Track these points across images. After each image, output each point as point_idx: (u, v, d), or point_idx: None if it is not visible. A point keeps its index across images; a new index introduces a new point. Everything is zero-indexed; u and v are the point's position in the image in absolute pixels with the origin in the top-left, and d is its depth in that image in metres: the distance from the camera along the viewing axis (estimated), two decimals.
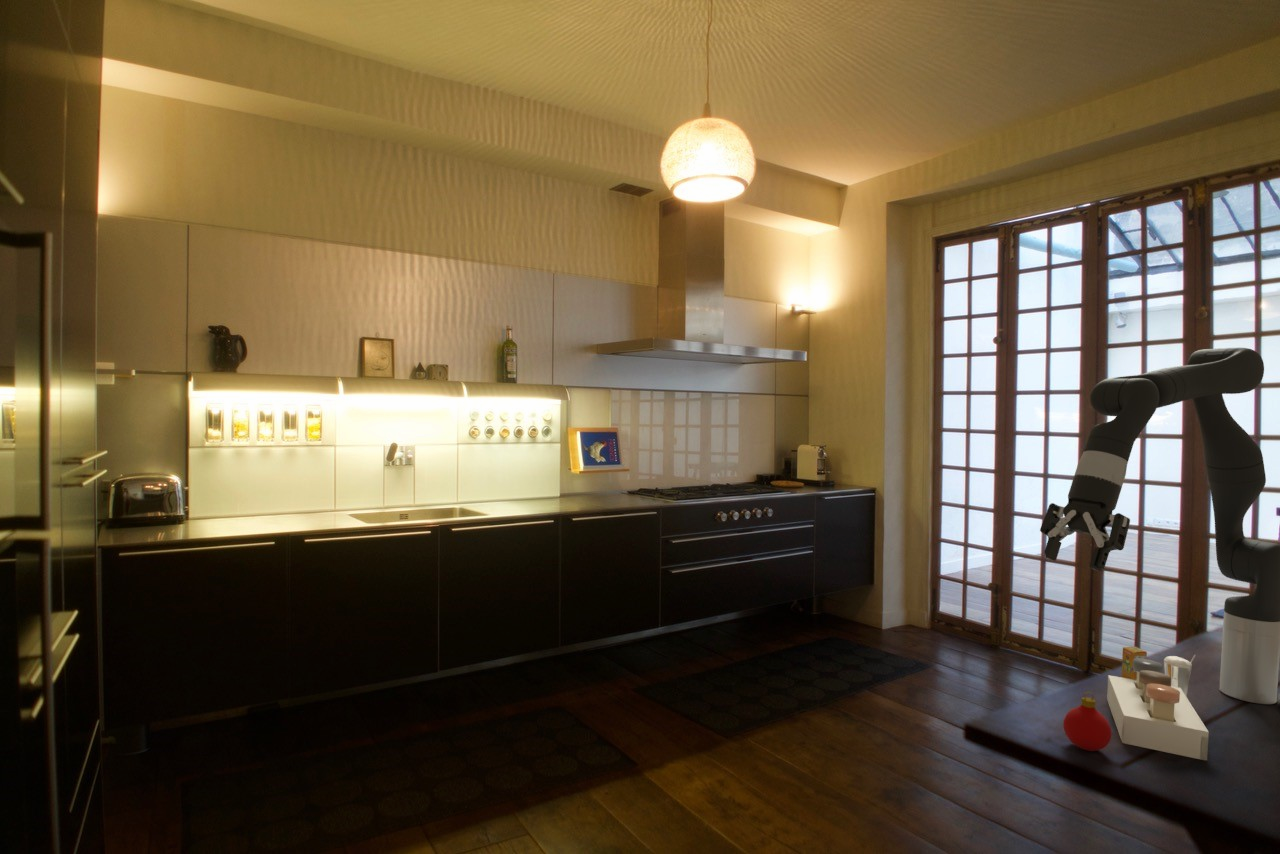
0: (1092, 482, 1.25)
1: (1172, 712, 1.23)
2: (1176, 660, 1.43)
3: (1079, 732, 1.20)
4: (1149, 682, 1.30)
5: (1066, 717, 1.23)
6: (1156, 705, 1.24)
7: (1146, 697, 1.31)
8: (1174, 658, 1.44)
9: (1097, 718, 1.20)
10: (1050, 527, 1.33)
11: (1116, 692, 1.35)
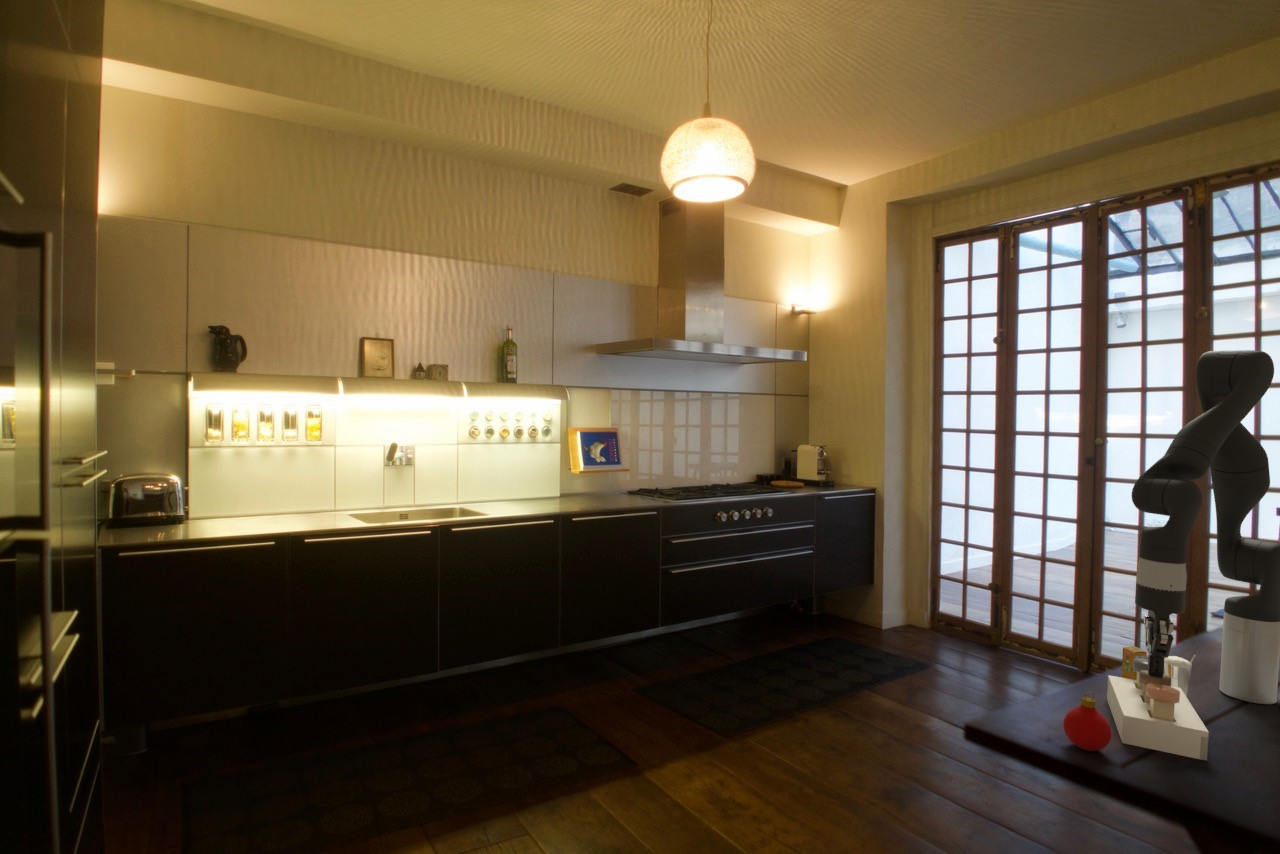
0: (1139, 590, 1.31)
1: (1172, 712, 1.23)
2: (1176, 660, 1.43)
3: (1080, 732, 1.20)
4: (1149, 682, 1.30)
5: (1066, 717, 1.23)
6: (1156, 705, 1.24)
7: (1146, 697, 1.31)
8: (1174, 658, 1.44)
9: (1098, 718, 1.20)
10: None
11: (1116, 692, 1.35)
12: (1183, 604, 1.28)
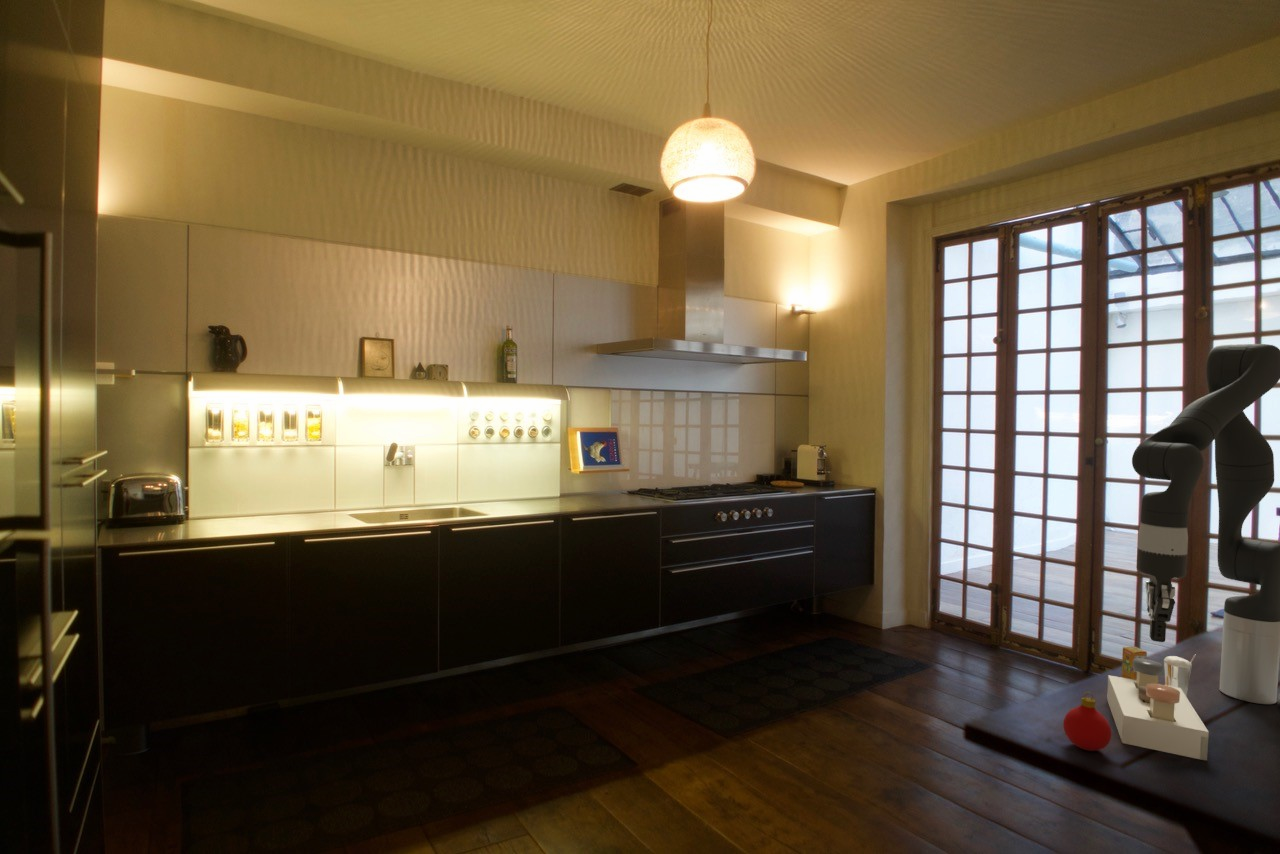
0: (1141, 555, 1.31)
1: (1172, 712, 1.23)
2: (1176, 660, 1.43)
3: (1079, 732, 1.20)
4: (1148, 698, 1.31)
5: (1066, 717, 1.23)
6: (1156, 705, 1.24)
7: None
8: (1174, 658, 1.44)
9: (1097, 718, 1.20)
10: None
11: (1116, 692, 1.35)
12: (1185, 568, 1.28)
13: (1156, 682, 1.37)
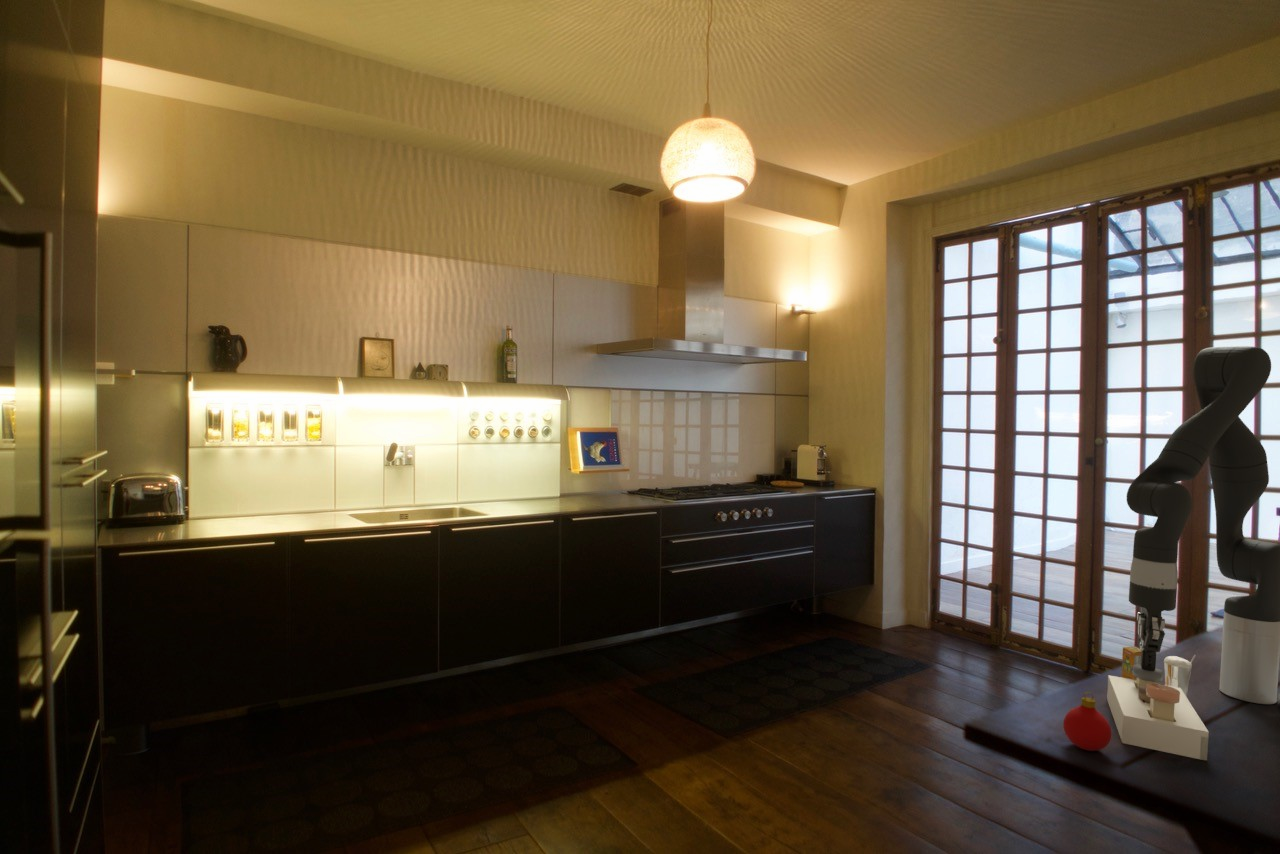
0: (1133, 588, 1.38)
1: (1172, 712, 1.23)
2: (1176, 660, 1.43)
3: (1080, 732, 1.20)
4: (1148, 698, 1.31)
5: (1066, 717, 1.23)
6: (1156, 705, 1.24)
7: None
8: (1174, 658, 1.44)
9: (1097, 719, 1.20)
10: None
11: (1116, 692, 1.35)
12: (1174, 601, 1.35)
13: None
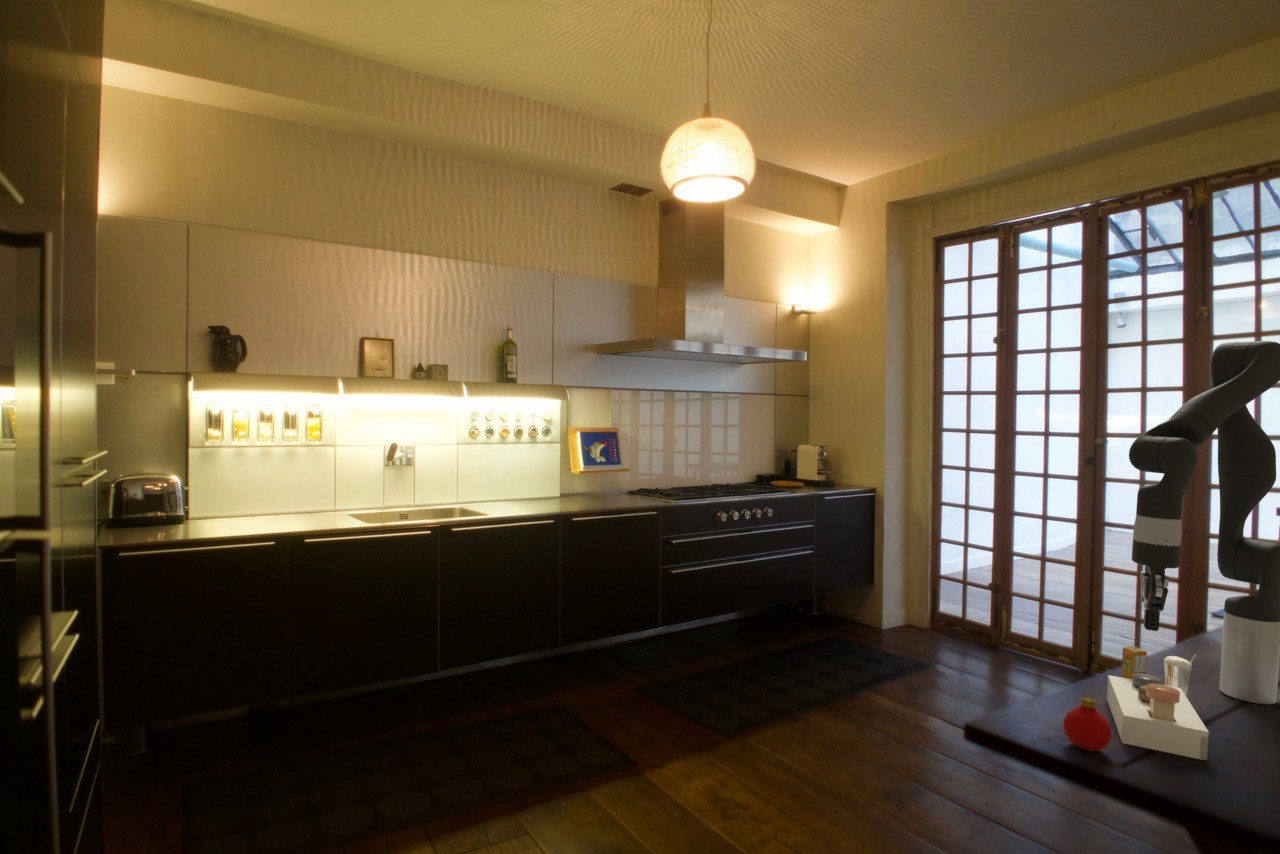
0: (1136, 546, 1.35)
1: (1172, 712, 1.23)
2: (1176, 660, 1.43)
3: (1080, 732, 1.20)
4: (1148, 698, 1.31)
5: (1066, 717, 1.23)
6: (1156, 705, 1.24)
7: None
8: (1174, 658, 1.44)
9: (1098, 719, 1.20)
10: None
11: (1116, 692, 1.35)
12: (1178, 559, 1.32)
13: None
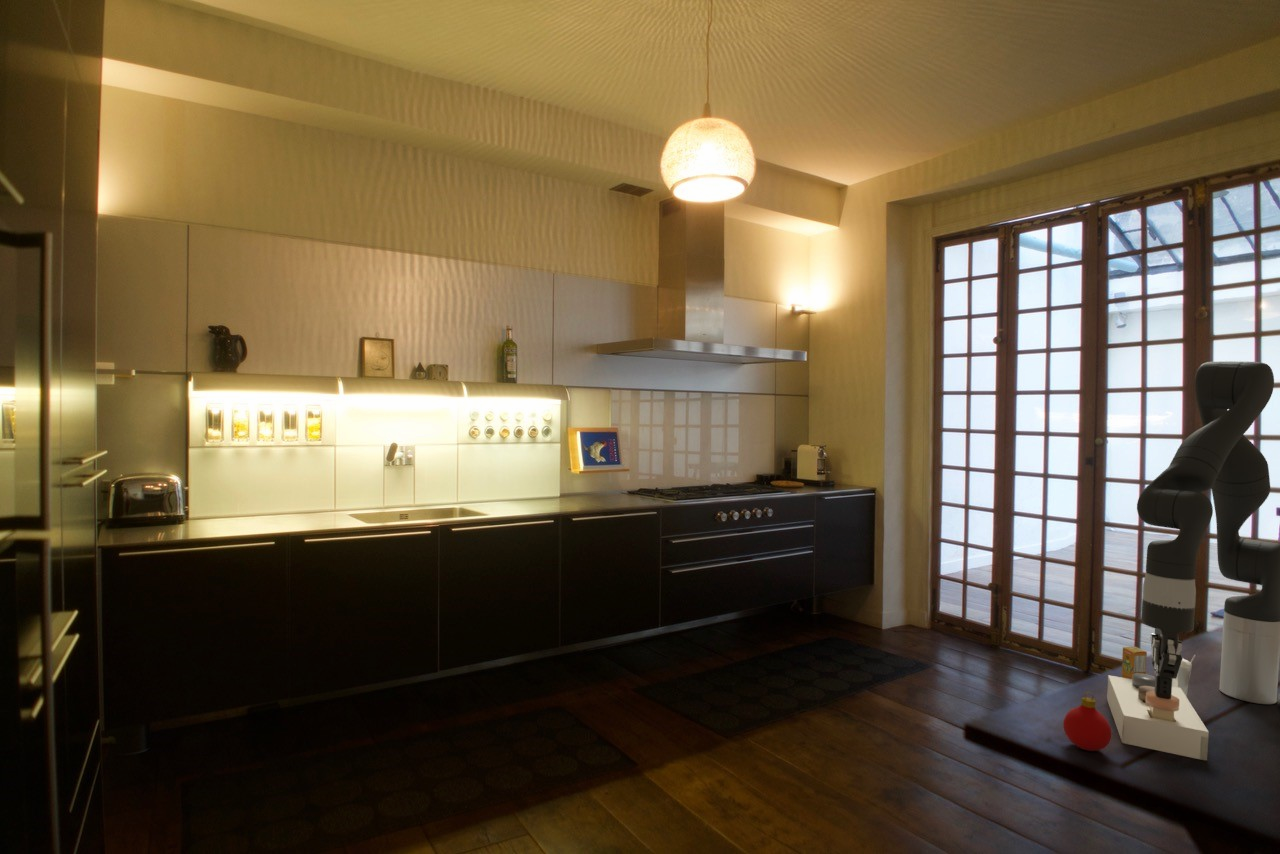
0: (1146, 607, 1.25)
1: (1172, 720, 1.23)
2: None
3: (1080, 732, 1.20)
4: None
5: (1066, 717, 1.23)
6: (1156, 713, 1.24)
7: None
8: None
9: (1097, 718, 1.20)
10: None
11: (1116, 692, 1.35)
12: (1192, 622, 1.21)
13: None
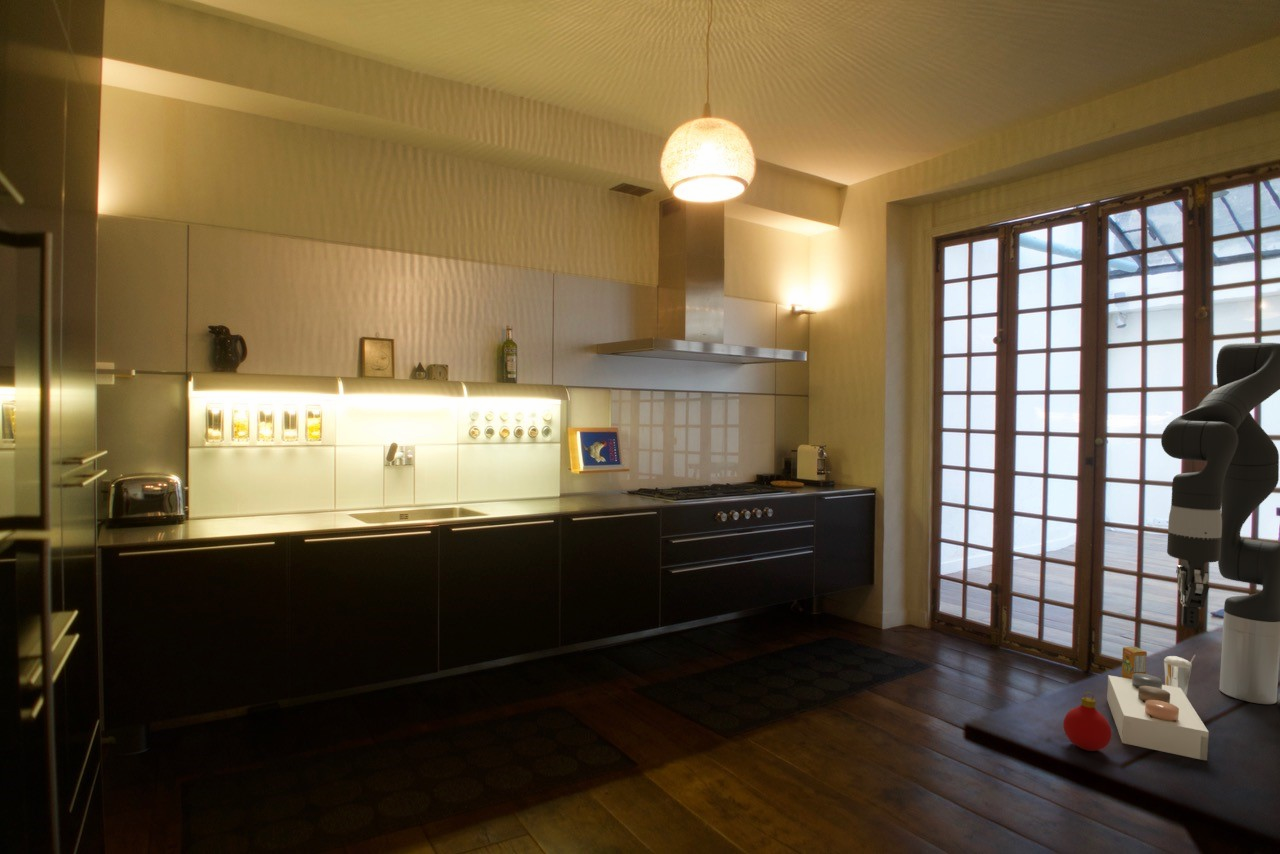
0: (1172, 539, 1.26)
1: None
2: (1176, 660, 1.43)
3: (1080, 732, 1.20)
4: (1148, 698, 1.31)
5: (1066, 717, 1.23)
6: None
7: None
8: (1174, 658, 1.44)
9: (1097, 718, 1.20)
10: None
11: (1116, 692, 1.35)
12: (1218, 552, 1.23)
13: None
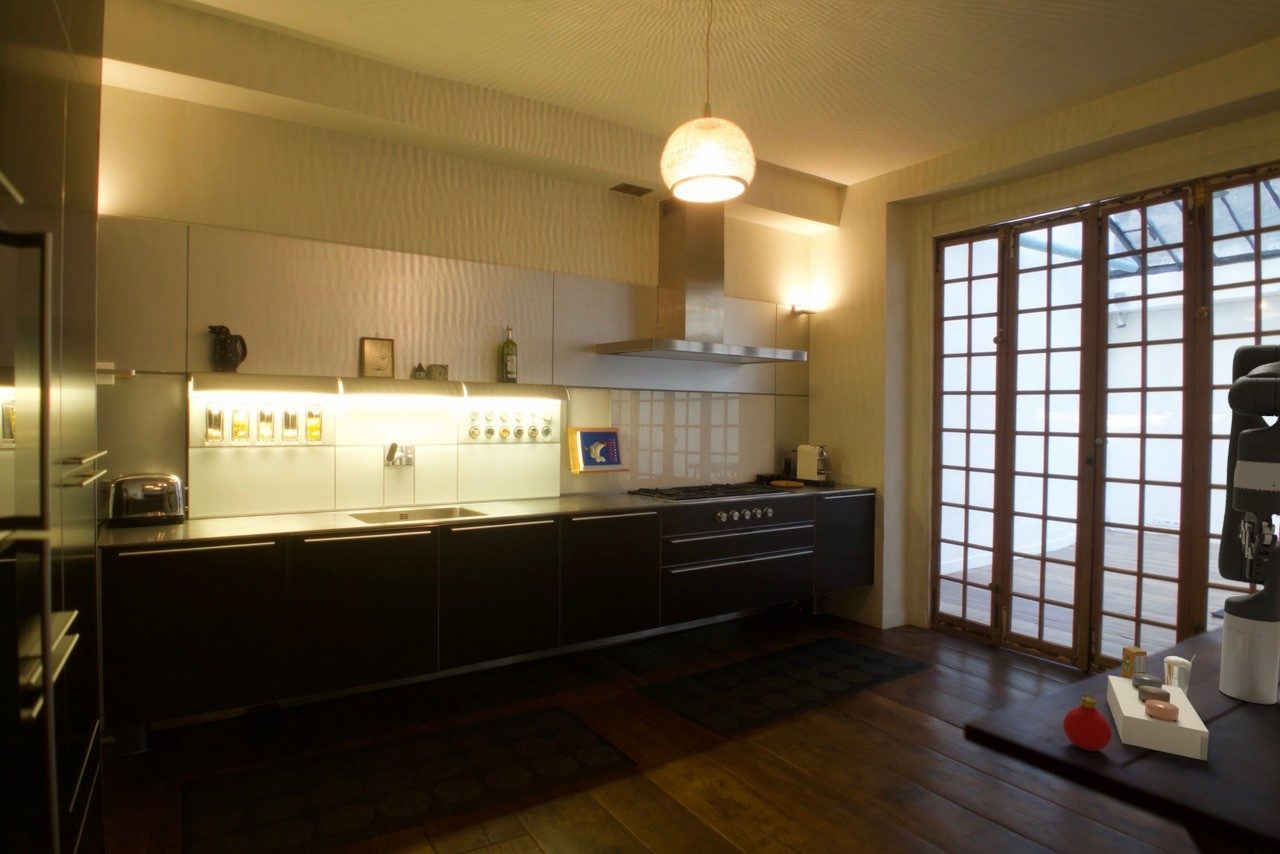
0: (1238, 493, 1.29)
1: None
2: (1176, 660, 1.43)
3: (1080, 732, 1.20)
4: (1148, 698, 1.31)
5: (1066, 717, 1.23)
6: None
7: None
8: (1174, 658, 1.44)
9: (1098, 718, 1.20)
10: None
11: (1116, 692, 1.35)
12: None
13: None
